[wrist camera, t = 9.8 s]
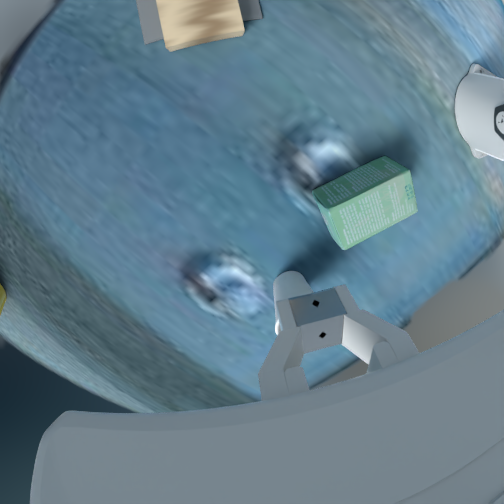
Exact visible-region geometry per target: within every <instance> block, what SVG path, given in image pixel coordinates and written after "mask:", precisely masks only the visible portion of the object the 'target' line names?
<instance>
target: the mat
mask: <svg viewBox="0 0 504 504" xmlns="http://www.w3.org/2000/svg"><path fill="white" fill-rule="evenodd" d="M136 2H137V8H138V13H139V18H140V23H141V28H142V33H143V38H144V43H145V45H146V44H149V43H152V42H155V41H158V40H161V39H164V37H163V32H162V27H161V22H160V18H159V13H158V8H157V3H156V0H136ZM238 3H239V7H240V12H241V16H242V20H243V21H248V20H256V19H262V13H261V9H260V5H259V1H258V0H238Z"/></svg>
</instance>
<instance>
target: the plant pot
mask: <svg viewBox="0 0 504 504" xmlns="http://www.w3.org/2000/svg"><path fill="white" fill-rule="evenodd" d="M5 301H6V292H5V290H4V288H3V287H2V285H1V284H0V315H1V312H2V309H3V306H4V303H5Z"/></svg>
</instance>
